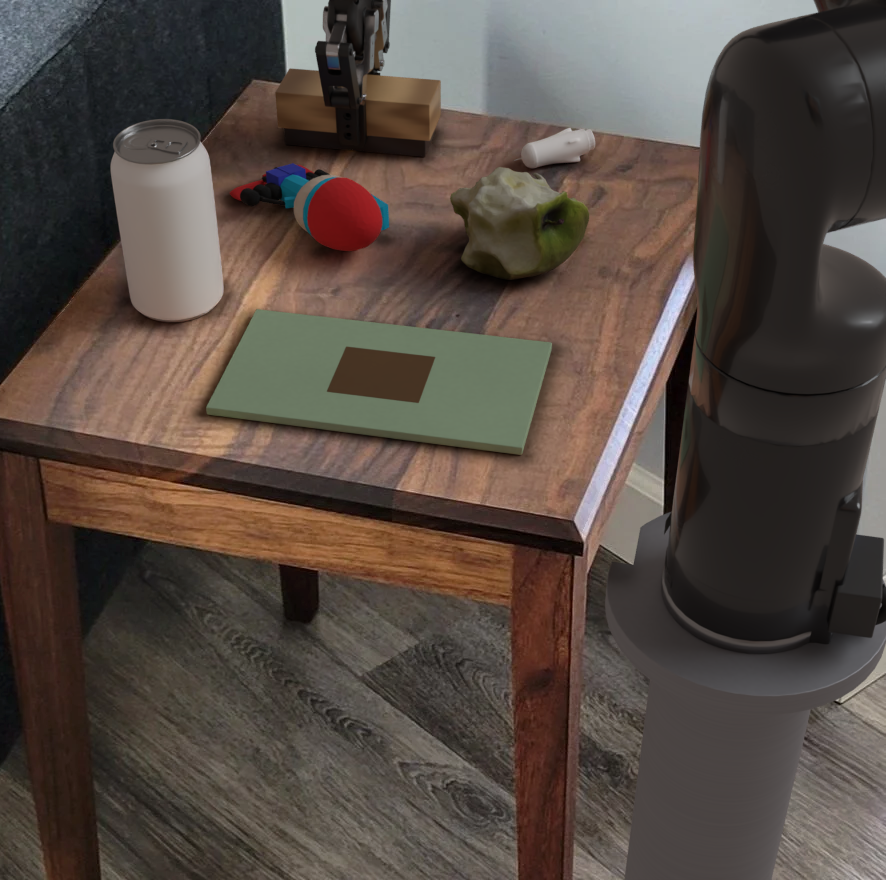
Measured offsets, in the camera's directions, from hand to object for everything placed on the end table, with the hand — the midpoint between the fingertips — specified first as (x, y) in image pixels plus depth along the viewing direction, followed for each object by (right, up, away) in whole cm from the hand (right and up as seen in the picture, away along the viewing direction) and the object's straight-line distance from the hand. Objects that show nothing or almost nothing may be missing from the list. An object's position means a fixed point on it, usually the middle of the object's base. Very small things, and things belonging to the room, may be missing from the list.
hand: (359, 130), depth 127 cm
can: (-13, -15, -14) cm, 25 cm away
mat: (+1, -22, -22) cm, 31 cm away
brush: (0, -1, +1) cm, 1 cm away
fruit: (+11, -13, -13) cm, 21 cm away
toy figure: (-3, -9, -8) cm, 13 cm away
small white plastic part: (+14, -3, -6) cm, 16 cm away
